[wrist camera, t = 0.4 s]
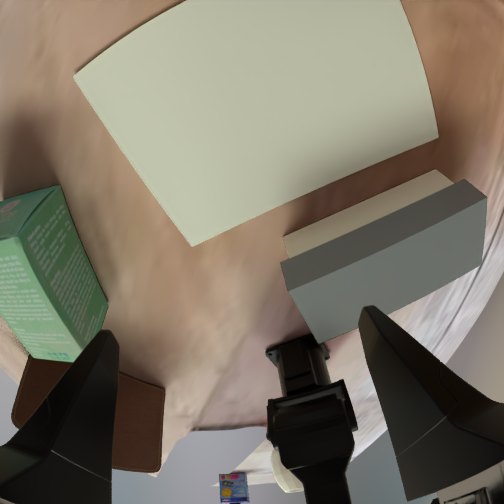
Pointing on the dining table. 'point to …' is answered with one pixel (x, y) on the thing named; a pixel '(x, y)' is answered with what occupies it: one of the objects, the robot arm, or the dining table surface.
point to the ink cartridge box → (233, 488)
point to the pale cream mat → (259, 102)
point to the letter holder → (126, 417)
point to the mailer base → (364, 212)
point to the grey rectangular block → (389, 260)
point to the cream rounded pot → (284, 475)
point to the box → (47, 277)
